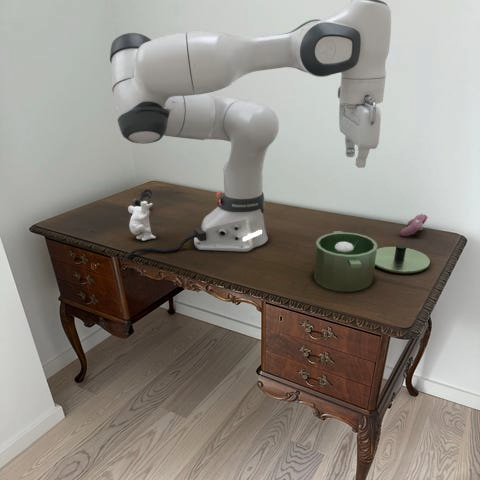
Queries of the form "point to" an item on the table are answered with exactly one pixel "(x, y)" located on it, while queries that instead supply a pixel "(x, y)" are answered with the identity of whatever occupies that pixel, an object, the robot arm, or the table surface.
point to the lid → (401, 259)
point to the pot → (344, 262)
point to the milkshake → (344, 248)
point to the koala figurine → (141, 221)
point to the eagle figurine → (143, 198)
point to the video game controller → (414, 225)
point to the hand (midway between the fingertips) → (354, 161)
